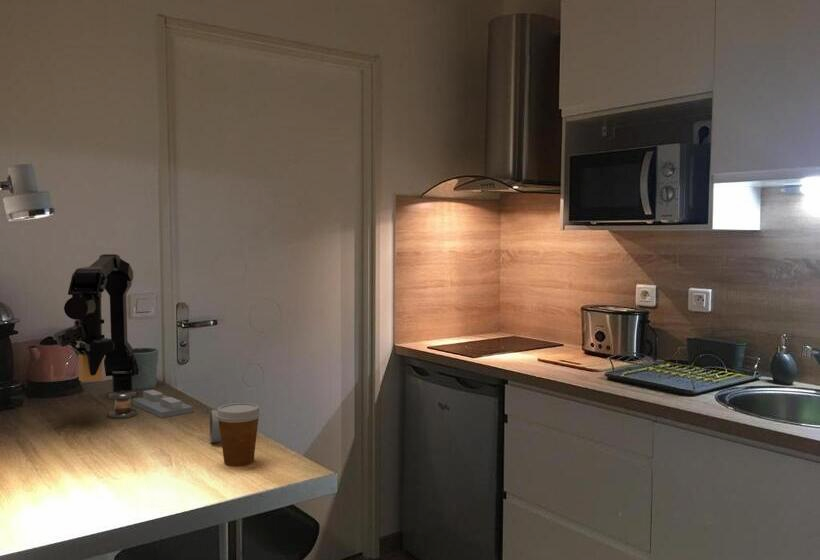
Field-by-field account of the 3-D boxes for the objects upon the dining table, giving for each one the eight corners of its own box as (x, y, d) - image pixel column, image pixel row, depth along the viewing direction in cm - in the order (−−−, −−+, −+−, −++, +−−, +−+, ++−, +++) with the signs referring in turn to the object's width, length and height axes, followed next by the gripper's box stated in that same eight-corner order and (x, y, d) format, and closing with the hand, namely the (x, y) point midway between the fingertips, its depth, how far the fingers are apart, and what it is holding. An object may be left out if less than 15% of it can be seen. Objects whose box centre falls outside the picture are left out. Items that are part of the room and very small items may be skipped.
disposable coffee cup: (213, 458, 156) (212, 404, 155) (255, 452, 160) (255, 400, 159) (220, 471, 147) (219, 415, 146) (265, 465, 151) (265, 410, 150)
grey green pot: (152, 381, 234) (151, 346, 233) (163, 387, 226) (163, 350, 225) (121, 386, 227) (120, 349, 226) (131, 391, 220) (131, 353, 219)
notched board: (132, 404, 204) (132, 392, 203) (162, 399, 210) (162, 387, 209) (161, 417, 189) (161, 405, 189) (192, 412, 195) (192, 399, 195)
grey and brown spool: (105, 414, 192) (104, 393, 192) (130, 410, 197) (130, 389, 196) (114, 419, 187) (114, 397, 186) (140, 415, 192) (140, 393, 191)
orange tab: (78, 380, 186) (78, 354, 185) (98, 377, 189) (97, 352, 189) (82, 381, 184) (82, 355, 183) (102, 379, 187) (101, 353, 187)
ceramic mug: (247, 443, 167) (247, 411, 167) (212, 447, 164) (211, 414, 164) (240, 432, 177) (240, 402, 176) (207, 435, 174) (206, 404, 173)
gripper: (46, 315, 187) (47, 373, 188) (69, 320, 173) (70, 383, 174) (89, 312, 195) (90, 368, 195) (114, 317, 181) (115, 377, 182)
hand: (90, 374), depth 186 cm, fingers closed on orange tab, 3 cm apart
